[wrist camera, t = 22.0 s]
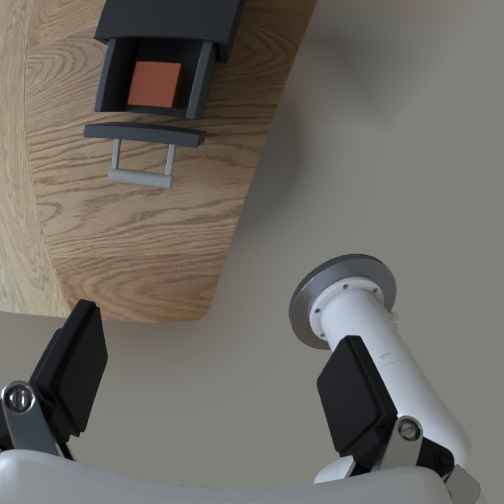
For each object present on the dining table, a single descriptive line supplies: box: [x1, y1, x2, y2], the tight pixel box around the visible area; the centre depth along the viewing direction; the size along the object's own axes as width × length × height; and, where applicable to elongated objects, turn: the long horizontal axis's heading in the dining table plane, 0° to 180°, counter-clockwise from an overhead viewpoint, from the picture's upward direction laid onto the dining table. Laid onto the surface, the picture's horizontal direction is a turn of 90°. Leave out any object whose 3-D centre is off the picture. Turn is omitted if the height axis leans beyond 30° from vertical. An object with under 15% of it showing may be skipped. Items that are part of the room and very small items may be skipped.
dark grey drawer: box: [84, 38, 219, 189], centre depth 23 cm, size 18×11×8 cm, turn 168°
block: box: [128, 61, 188, 109], centre depth 23 cm, size 5×5×5 cm
